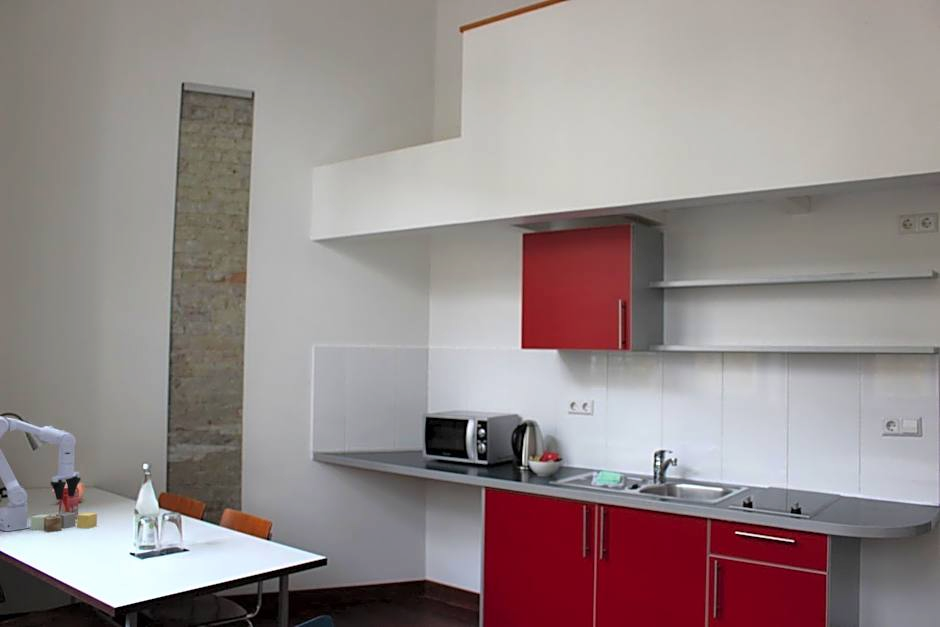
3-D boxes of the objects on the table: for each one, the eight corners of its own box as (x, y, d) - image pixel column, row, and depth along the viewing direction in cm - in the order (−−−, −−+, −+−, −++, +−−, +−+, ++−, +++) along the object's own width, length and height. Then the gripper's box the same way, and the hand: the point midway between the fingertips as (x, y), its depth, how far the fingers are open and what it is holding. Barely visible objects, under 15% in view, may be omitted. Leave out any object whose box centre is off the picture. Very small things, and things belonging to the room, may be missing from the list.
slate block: (63, 528, 340) (64, 515, 340) (55, 527, 343) (55, 514, 343) (75, 526, 345) (75, 513, 345) (67, 524, 347) (67, 512, 347)
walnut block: (47, 532, 333) (47, 519, 333) (44, 530, 337) (44, 517, 337) (61, 531, 336) (61, 517, 336) (58, 528, 340) (59, 515, 340)
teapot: (51, 505, 386) (51, 483, 387) (60, 500, 398) (60, 479, 399) (78, 505, 388) (79, 483, 388) (87, 500, 400) (87, 478, 400)
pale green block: (43, 530, 337) (44, 517, 337) (31, 530, 337) (31, 517, 337) (50, 527, 342) (50, 514, 342) (37, 527, 342) (38, 514, 342)
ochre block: (88, 528, 340) (88, 515, 341) (77, 527, 342) (77, 515, 342) (96, 526, 345) (96, 513, 345) (85, 525, 347) (86, 512, 347)
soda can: (81, 517, 362) (82, 485, 363) (71, 520, 355) (72, 487, 356) (64, 516, 363) (66, 484, 364) (55, 519, 356) (56, 487, 356)
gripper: (64, 466, 342) (63, 501, 341) (86, 461, 356) (85, 495, 355) (47, 465, 343) (46, 500, 342) (70, 460, 357) (69, 494, 357)
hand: (65, 497), depth 349 cm, fingers open, 7 cm apart
